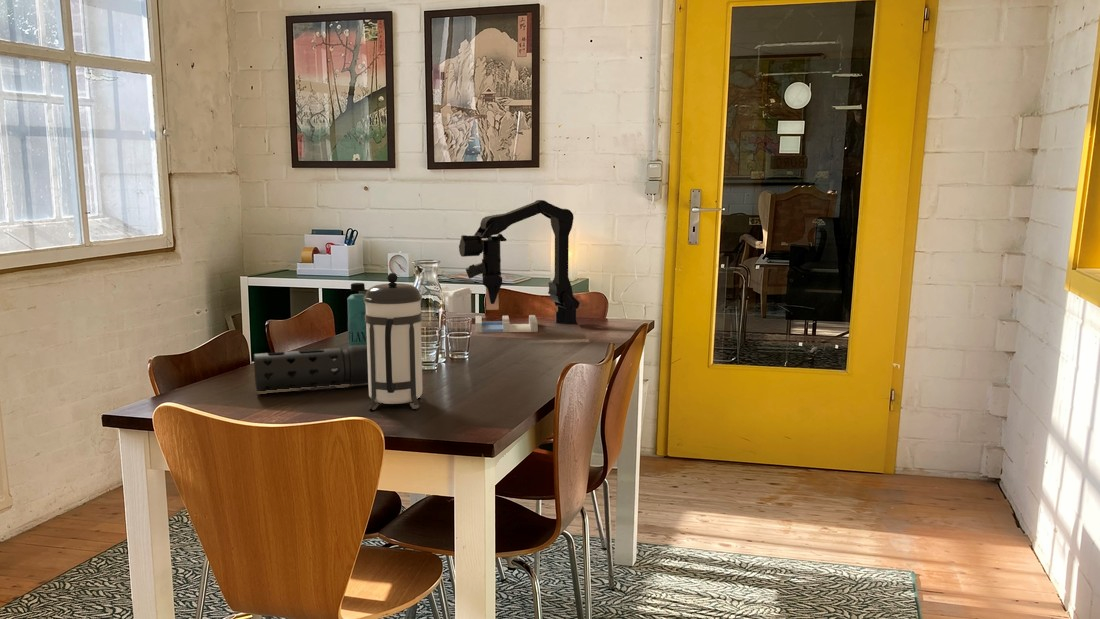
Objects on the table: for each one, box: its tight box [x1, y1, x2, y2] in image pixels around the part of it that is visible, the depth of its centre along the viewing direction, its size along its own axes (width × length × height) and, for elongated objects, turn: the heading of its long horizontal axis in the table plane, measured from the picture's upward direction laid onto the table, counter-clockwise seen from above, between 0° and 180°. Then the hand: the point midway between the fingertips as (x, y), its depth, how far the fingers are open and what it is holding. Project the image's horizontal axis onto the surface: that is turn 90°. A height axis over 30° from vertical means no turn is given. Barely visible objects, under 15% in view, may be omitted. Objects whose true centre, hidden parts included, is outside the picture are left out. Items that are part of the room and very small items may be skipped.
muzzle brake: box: [253, 345, 368, 391], centre depth 207 cm, size 10×28×10 cm, turn 111°
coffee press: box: [364, 272, 424, 406], centre depth 191 cm, size 17×16×30 cm
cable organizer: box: [440, 285, 472, 314], centre depth 301 cm, size 15×11×12 cm
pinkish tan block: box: [485, 287, 500, 311], centre depth 281 cm, size 4×4×9 cm
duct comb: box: [475, 314, 539, 334], centre depth 283 cm, size 20×14×4 cm
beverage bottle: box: [346, 282, 367, 347], centre depth 252 cm, size 6×7×20 cm
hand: (492, 302), depth 281 cm, fingers closed on pinkish tan block, 4 cm apart
